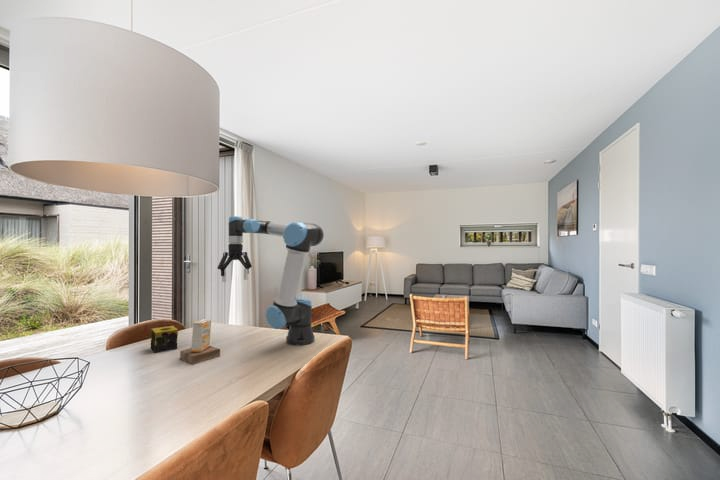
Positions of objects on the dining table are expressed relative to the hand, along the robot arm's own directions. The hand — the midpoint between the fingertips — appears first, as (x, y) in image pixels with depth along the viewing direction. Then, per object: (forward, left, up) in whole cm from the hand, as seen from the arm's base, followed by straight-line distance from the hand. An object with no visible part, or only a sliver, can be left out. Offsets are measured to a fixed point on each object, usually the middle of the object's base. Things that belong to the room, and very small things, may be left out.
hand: (235, 281), depth 176 cm
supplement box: (-16, +28, -28) cm, 43 cm away
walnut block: (-16, +28, -32) cm, 46 cm away
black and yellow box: (+11, +32, -32) cm, 47 cm away
